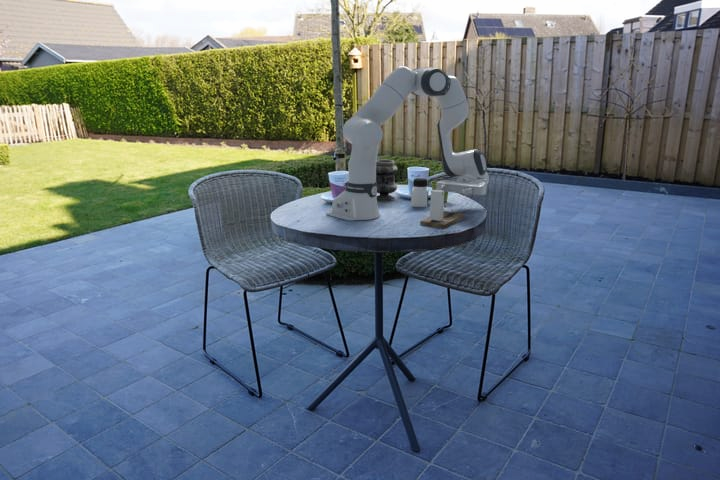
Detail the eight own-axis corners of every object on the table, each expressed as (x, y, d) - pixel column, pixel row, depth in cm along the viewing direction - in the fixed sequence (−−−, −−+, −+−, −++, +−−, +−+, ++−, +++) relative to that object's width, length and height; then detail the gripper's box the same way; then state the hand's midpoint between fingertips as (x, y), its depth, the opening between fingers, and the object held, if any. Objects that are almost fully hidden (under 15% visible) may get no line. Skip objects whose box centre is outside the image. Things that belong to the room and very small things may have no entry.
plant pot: (450, 203, 223) (451, 184, 221) (429, 203, 225) (429, 184, 222) (450, 199, 232) (451, 181, 229) (430, 198, 234) (431, 180, 231)
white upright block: (429, 219, 190) (430, 190, 186) (433, 217, 192) (434, 189, 189) (439, 220, 187) (440, 192, 184) (443, 219, 190) (444, 190, 186)
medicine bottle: (427, 207, 217) (428, 180, 214) (411, 206, 219) (411, 179, 215) (428, 203, 224) (428, 177, 221) (412, 203, 225) (412, 176, 222)
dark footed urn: (397, 201, 228) (397, 162, 222) (370, 201, 229) (370, 162, 223) (397, 196, 239) (397, 158, 234) (372, 196, 240) (372, 158, 235)
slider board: (420, 224, 190) (420, 220, 190) (442, 214, 205) (442, 210, 205) (444, 228, 185) (444, 224, 184) (465, 217, 200) (465, 213, 199)
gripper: (444, 175, 212) (429, 180, 202) (490, 179, 201) (477, 185, 190) (444, 189, 214) (428, 195, 204) (489, 194, 203) (476, 201, 192)
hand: (452, 190), depth 197 cm, fingers open, 8 cm apart
